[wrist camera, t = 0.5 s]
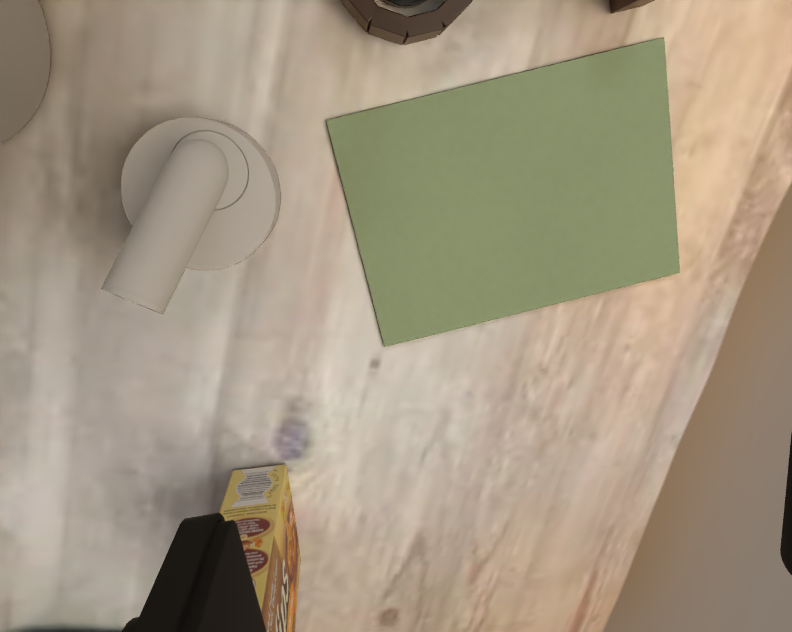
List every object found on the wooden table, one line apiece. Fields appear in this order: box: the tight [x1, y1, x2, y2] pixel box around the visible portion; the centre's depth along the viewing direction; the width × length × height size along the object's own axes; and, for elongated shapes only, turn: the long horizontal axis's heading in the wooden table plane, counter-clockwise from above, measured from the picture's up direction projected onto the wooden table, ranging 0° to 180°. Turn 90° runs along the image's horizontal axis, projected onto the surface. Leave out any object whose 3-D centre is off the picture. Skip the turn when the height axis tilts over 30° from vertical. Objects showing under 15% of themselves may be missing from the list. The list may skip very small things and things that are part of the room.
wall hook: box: [101, 117, 281, 314], centre depth 29 cm, size 9×10×10 cm
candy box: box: [219, 464, 301, 632], centre depth 34 cm, size 9×4×15 cm, turn 5°
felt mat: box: [326, 38, 680, 347], centre depth 35 cm, size 15×21×1 cm
